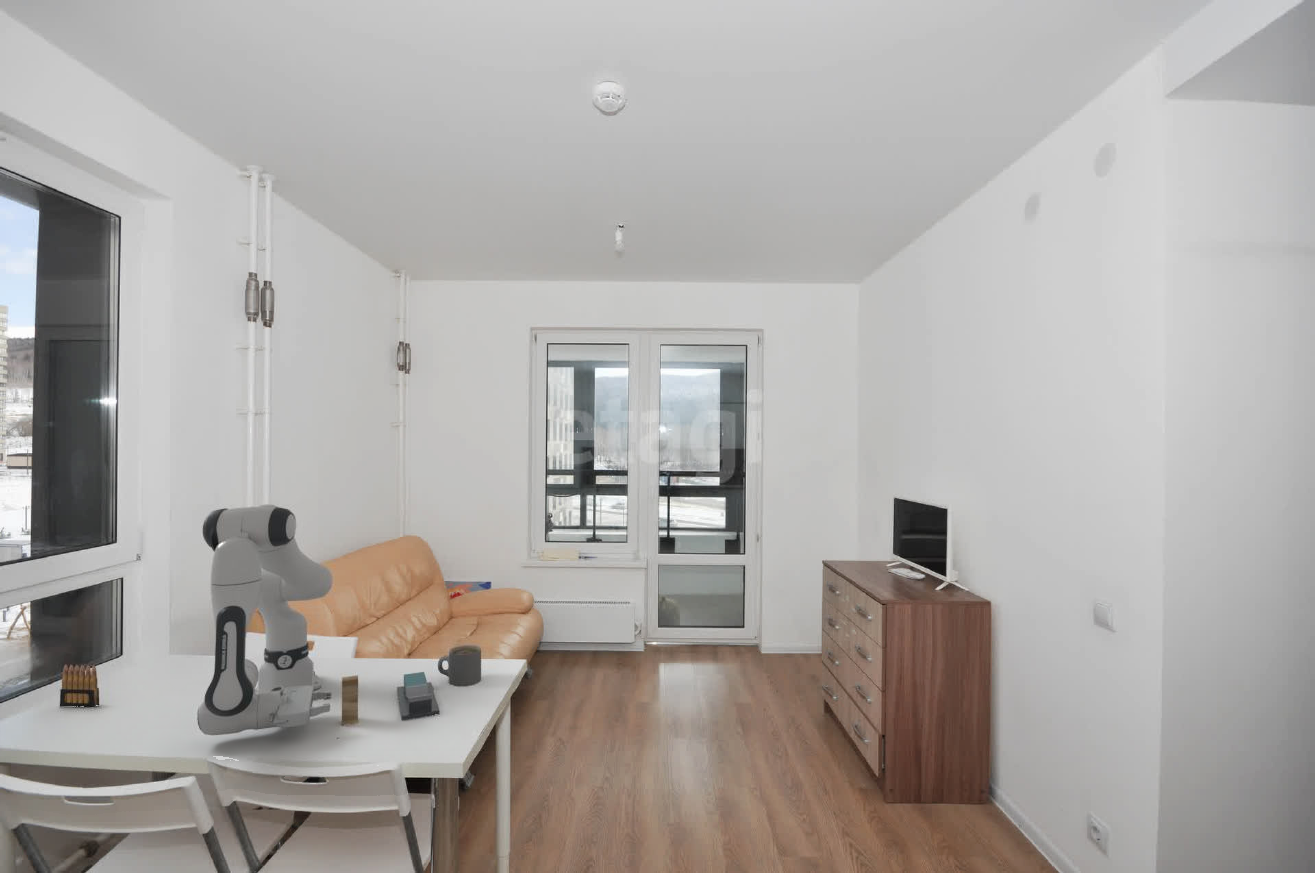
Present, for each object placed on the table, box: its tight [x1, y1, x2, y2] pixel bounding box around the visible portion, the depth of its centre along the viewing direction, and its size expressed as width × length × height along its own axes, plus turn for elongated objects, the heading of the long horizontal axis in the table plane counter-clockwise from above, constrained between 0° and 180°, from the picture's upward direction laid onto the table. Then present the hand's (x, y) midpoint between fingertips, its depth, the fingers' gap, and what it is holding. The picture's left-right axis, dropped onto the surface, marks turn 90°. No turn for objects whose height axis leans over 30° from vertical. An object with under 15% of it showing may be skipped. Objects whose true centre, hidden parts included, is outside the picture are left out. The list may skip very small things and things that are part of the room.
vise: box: [396, 681, 441, 721], centre depth 196 cm, size 24×10×4 cm, turn 24°
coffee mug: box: [437, 644, 482, 688], centre depth 213 cm, size 13×10×10 cm
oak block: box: [341, 675, 359, 726], centre depth 182 cm, size 4×4×12 cm
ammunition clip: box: [59, 664, 100, 708], centre depth 193 cm, size 11×2×12 cm, turn 86°
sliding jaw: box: [403, 671, 428, 698], centre depth 202 cm, size 12×6×3 cm, turn 24°
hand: (330, 700), depth 180 cm, fingers open, 8 cm apart
